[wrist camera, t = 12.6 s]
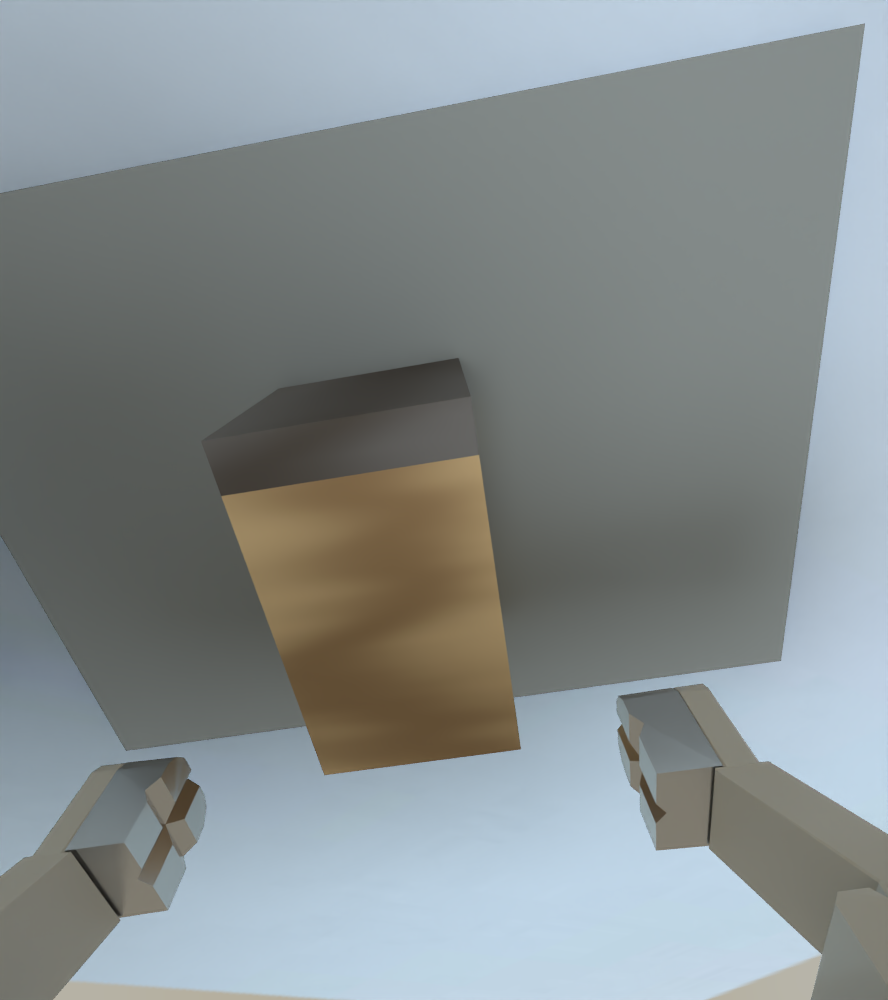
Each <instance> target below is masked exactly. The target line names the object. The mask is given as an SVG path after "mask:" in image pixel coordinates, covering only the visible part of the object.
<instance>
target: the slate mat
mask: <svg viewBox="0 0 888 1000" xmlns="http://www.w3.org/2000/svg"><path fill="white" fill-rule="evenodd" d="M864 27H865V24H860V25H855V26H850V27H845V28H840V29H835V30H830V31H825V32H820V33H814V34H809V35H804V36H799V37H794V38H789V39H784V40H779V41H774V42H769V43H764V44H758V45H753V46H748V47H743V48H738V49H733V50H728V51H723V52H718V53H713V54H707V55H702V56H697V57H692V58H687V59H682V60H677V61H672V62H667V63H662V64H657V65H651V66H646V67H641V68H636V69H631V70H626V71H621V72H616V73H611V74H606V75H600V76H595V77H590V78H585V79H580V80H575V81H570V82H565V83H560V84H555V85H550V86H544V87H539V88H534V89H529V90H524V91H519V92H514V93H509V94H504V95H499V96H493V97H488V98H483V99H478V100H473V101H468V102H463V103H458V104H453V105H448V106H443V107H437V108H432V109H427V110H422V111H417V112H412V113H407V114H402V115H397V116H392V117H386V118H381V119H376V120H371V121H366V122H361V123H356V124H351V125H346V126H341V127H336V128H330V129H325V130H320V131H315V132H310V133H305V134H300V135H295V136H290V137H285V138H279V139H274V140H269V141H264V142H259V143H254V144H249V145H244V146H239V147H234V148H229V149H223V150H218V151H213V152H208V153H203V154H198V155H193V156H188V157H183V158H178V159H173V160H167V161H162V162H157V163H152V164H147V165H142V166H137V167H132V168H127V169H122V170H116V171H111V172H106V173H101V174H96V175H91V176H86V177H81V178H76V179H71V180H66V181H60V182H55V183H50V184H45V185H40V186H35V187H30V188H25V189H20V190H15V191H9V192H4V193H0V535H1V537H2V539H3V540H4V542H5V544H6V546H7V547H8V549H9V551H10V552H11V554H12V556H13V558H14V559H15V561H16V563H17V564H18V566H19V568H20V570H21V571H22V573H23V575H24V576H25V578H26V580H27V582H28V583H29V585H30V587H31V588H32V590H33V592H34V594H35V595H36V597H37V599H38V600H39V602H40V604H41V606H42V607H43V609H44V611H45V612H46V614H47V616H48V618H49V619H50V621H51V623H52V624H53V626H54V628H55V630H56V631H57V633H58V635H59V637H60V638H61V640H62V642H63V643H64V645H65V647H66V649H67V650H68V652H69V654H70V655H71V657H72V659H73V661H74V662H75V664H76V666H77V667H78V669H79V671H80V673H81V674H82V676H83V678H84V679H85V681H86V683H87V685H88V686H89V688H90V690H91V691H92V693H93V695H94V697H95V698H96V700H97V702H98V703H99V705H100V707H101V709H102V710H103V712H104V714H105V715H106V717H107V719H108V721H109V722H110V724H111V726H112V727H113V729H114V731H115V733H116V734H117V736H118V738H119V740H120V741H121V743H122V745H123V746H124V748H125V750H126V751H128V750H135V749H142V748H149V747H157V746H164V745H171V744H179V743H186V742H193V741H200V740H208V739H215V738H222V737H229V736H237V735H244V734H251V733H259V732H266V731H273V730H280V729H288V728H295V727H302V726H306V724H305V721H304V718H303V716H302V713H301V710H300V708H299V705H298V702H297V699H296V697H295V694H294V691H293V689H292V686H291V683H290V681H289V678H288V675H287V672H286V670H285V667H284V664H283V662H282V659H281V656H280V654H279V651H278V648H277V645H276V643H275V640H274V637H273V635H272V632H271V629H270V627H269V624H268V621H267V618H266V616H265V613H264V610H263V608H262V605H261V602H260V600H259V597H258V594H257V591H256V589H255V586H254V583H253V581H252V578H251V575H250V573H249V570H248V567H247V564H246V562H245V559H244V556H243V554H242V551H241V548H240V545H239V543H238V540H237V537H236V535H235V532H234V529H233V527H232V524H231V521H230V518H229V516H228V513H227V510H226V508H225V505H224V502H223V500H222V497H221V494H220V491H219V489H218V486H217V483H216V481H215V478H214V475H213V473H212V470H211V467H210V464H209V462H208V459H207V456H206V454H205V451H204V448H203V446H202V443H201V441H202V440H203V439H205V438H206V437H208V436H209V435H211V434H212V433H214V432H215V431H217V430H218V429H220V428H221V427H223V426H224V425H226V424H227V423H228V422H230V421H231V420H233V419H234V418H236V417H237V416H239V415H240V414H242V413H243V412H245V411H246V410H248V409H249V408H251V407H252V406H254V405H255V404H256V403H258V402H259V401H261V400H262V399H264V398H265V397H267V396H268V395H270V394H271V393H273V392H274V391H276V390H277V389H279V388H284V387H290V386H296V385H302V384H308V383H314V382H320V381H325V380H331V379H337V378H343V377H349V376H355V375H361V374H367V373H372V372H378V371H384V370H390V369H396V368H402V367H408V366H414V365H420V364H425V363H431V362H437V361H443V360H449V359H455V358H459V361H460V364H461V367H462V370H463V373H464V377H465V380H466V383H467V386H468V389H469V392H470V395H471V401H472V408H473V415H474V422H475V429H476V436H477V443H478V451H479V458H480V465H481V472H482V479H483V486H484V493H485V500H486V507H487V514H488V521H489V528H490V535H491V542H492V549H493V556H494V563H495V571H496V578H497V585H498V592H499V599H500V606H501V613H502V620H503V627H504V634H505V641H506V648H507V655H508V662H509V669H510V676H511V684H512V691H513V697H521V696H528V695H535V694H542V693H550V692H557V691H564V690H571V689H579V688H586V687H593V686H601V685H608V684H615V683H622V682H630V681H637V680H644V679H652V678H659V677H666V676H673V675H681V674H688V673H695V672H702V671H710V670H717V669H724V668H732V667H739V666H746V665H753V664H761V663H768V662H775V661H781V655H782V648H783V640H784V633H785V625H786V617H787V610H788V602H789V595H790V587H791V580H792V572H793V564H794V557H795V549H796V542H797V534H798V527H799V519H800V511H801V504H802V496H803V489H804V481H805V474H806V466H807V458H808V451H809V443H810V436H811V428H812V421H813V413H814V405H815V398H816V390H817V383H818V375H819V368H820V360H821V352H822V345H823V337H824V330H825V322H826V315H827V307H828V299H829V292H830V284H831V277H832V269H833V262H834V254H835V246H836V239H837V231H838V224H839V216H840V209H841V201H842V193H843V186H844V178H845V171H846V163H847V156H848V148H849V140H850V133H851V125H852V118H853V110H854V103H855V95H856V87H857V80H858V72H859V65H860V57H861V49H862V42H863V34H864Z"/></svg>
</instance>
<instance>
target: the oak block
mask: <svg viewBox="0 0 888 1000" xmlns="http://www.w3.org/2000/svg"><path fill="white" fill-rule="evenodd" d="M201 443H202V446H203V448H204V451H205V454H206V456H207V459H208V462H209V464H210V467H211V470H212V473H213V475H214V478H215V481H216V483H217V486H218V489H219V491H220V494H221V497H222V500H223V502H224V505H225V508H226V510H227V513H228V516H229V518H230V521H231V524H232V527H233V529H234V532H235V535H236V537H237V540H238V543H239V545H240V548H241V551H242V554H243V556H244V559H245V562H246V564H247V567H248V570H249V573H250V575H251V578H252V581H253V583H254V586H255V589H256V591H257V594H258V597H259V600H260V602H261V605H262V608H263V610H264V613H265V616H266V618H267V621H268V624H269V627H270V629H271V632H272V635H273V637H274V640H275V643H276V645H277V648H278V651H279V654H280V656H281V659H282V662H283V664H284V667H285V670H286V672H287V675H288V678H289V681H290V683H291V686H292V689H293V691H294V694H295V697H296V699H297V702H298V705H299V708H300V710H301V713H302V716H303V718H304V721H305V724H306V727H307V729H308V732H309V735H310V737H311V740H312V743H313V745H314V748H315V751H316V754H317V756H318V759H319V762H320V764H321V767H322V770H323V772H324V775H329V774H336V773H344V772H352V771H359V770H367V769H374V768H382V767H390V766H397V765H405V764H412V763H420V762H428V761H435V760H443V759H451V758H458V757H466V756H473V755H481V754H489V753H496V752H504V751H511V750H519V749H521V747H520V740H519V733H518V726H517V719H516V712H515V705H514V698H513V691H512V684H511V676H510V669H509V662H508V655H507V648H506V641H505V634H504V627H503V620H502V613H501V606H500V599H499V592H498V585H497V578H496V571H495V563H494V556H493V549H492V542H491V535H490V528H489V521H488V514H487V507H486V500H485V493H484V486H483V479H482V472H481V465H480V458H479V451H478V443H477V436H476V429H475V422H474V415H473V408H472V401H471V395H470V392H469V389H468V386H467V383H466V380H465V377H464V373H463V370H462V367H461V364H460V361H459V358H455V359H449V360H443V361H437V362H431V363H425V364H420V365H414V366H408V367H402V368H396V369H390V370H384V371H378V372H372V373H367V374H361V375H355V376H349V377H343V378H337V379H331V380H325V381H320V382H314V383H308V384H302V385H296V386H290V387H284V388H279V389H277V390H276V391H274V392H273V393H271V394H270V395H268V396H267V397H265V398H264V399H262V400H261V401H259V402H258V403H256V404H255V405H254V406H252V407H251V408H249V409H248V410H246V411H245V412H243V413H242V414H240V415H239V416H237V417H236V418H234V419H233V420H231V421H230V422H228V423H227V424H226V425H224V426H223V427H221V428H220V429H218V430H217V431H215V432H214V433H212V434H211V435H209V436H208V437H206V438H205V439H203V440H202V441H201Z"/></svg>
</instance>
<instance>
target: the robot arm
mask: <svg viewBox="0 0 888 1000" xmlns="http://www.w3.org/2000/svg"><path fill="white" fill-rule="evenodd" d="M617 714H618V716H619V719H620V721H621V723H622V725H621V726H620V727H619V729H618V730H617V732H618V745H619V750H620V755H621V760H622V763H623V766H624V770H625V773H626V775H627V778H628V781H629V783H630V786H631V787H632V788H633V789H635V790H636V791H637V792H639V793H640V812H641V814H642V817H643V819H644V822H645V824H646V827H647V829H648V832H649V834H650V837H651V839H652V842H653V844H654V847H655V849H656V850H667V849H678V848H688V847H699V846H709V849H710V850H711V851H712V852H713V853H714V854H715V855H716V856H718V857H719V858H720V859H721V860H722V861H723V862H724V863H725V864H726V865H727V866H728V867H729V868H730V869H731V870H732V871H734V872H735V873H736V874H737V875H738V876H739V877H740V878H741V879H742V880H743V881H744V882H745V883H746V884H747V885H748V886H749V887H751V888H752V889H753V890H754V891H755V892H756V893H757V894H758V895H759V896H760V897H761V898H762V899H763V900H764V901H765V902H767V903H768V904H769V905H770V906H771V907H772V908H773V909H774V910H775V911H776V912H777V913H778V914H779V915H780V916H781V917H782V918H784V919H785V920H786V921H787V922H788V923H789V924H790V925H791V926H792V927H793V928H794V929H795V930H796V931H797V932H798V933H800V934H801V935H802V936H803V937H804V938H805V939H806V940H807V941H808V942H809V943H810V944H811V945H812V946H813V947H814V948H815V949H817V950H818V951H819V952H820V953H821V954H822V957H821V961H820V965H819V969H818V974H817V977H816V981H815V985H814V990H813V994H812V998H811V1000H888V834H887V833H885V832H883V831H882V830H880V829H878V828H877V827H875V826H874V825H872V824H870V823H869V822H867V821H865V820H864V819H862V818H860V817H859V816H857V815H856V814H854V813H852V812H851V811H849V810H847V809H846V808H844V807H843V806H841V805H839V804H838V803H836V802H834V801H833V800H831V799H829V798H828V797H826V796H825V795H823V794H821V793H820V792H818V791H816V790H815V789H813V788H811V787H810V786H808V785H807V784H805V783H803V782H802V781H800V780H798V779H797V778H795V777H793V776H792V775H790V774H789V773H787V772H785V771H784V770H782V769H780V768H779V767H777V766H775V765H774V764H772V763H771V762H769V761H768V762H759V761H758V760H757V758H756V757H755V755H754V754H753V752H752V751H751V749H750V748H749V747H748V745H747V744H746V742H745V741H744V739H743V738H742V736H741V735H740V733H739V732H738V731H737V729H736V728H735V726H734V725H733V723H732V722H731V720H730V719H729V717H728V716H727V715H726V713H725V712H724V710H723V709H722V707H721V706H720V704H719V703H718V702H717V700H716V699H715V697H714V696H713V694H712V693H711V691H710V690H709V688H708V687H706V686H705V685H703V684H697V685H690V686H683V687H676V688H673V689H672V688H668V689H661V690H655V691H648V692H641V693H635V694H628V695H621V696H618V698H617ZM190 772H191V768H190V767H189V765H188V763H187V762H186V760H185V758H182V757H174V758H165V759H156V760H147V761H138V762H129V763H123V764H114V765H106V766H101V767H99V768H98V769H97V770H95V771H94V772H92V773H91V774H90V776H89V777H88V779H87V780H86V782H85V783H84V784H83V786H82V787H81V789H80V790H79V791H78V793H77V794H76V796H75V797H74V799H73V800H72V801H71V803H70V804H69V806H68V807H67V808H66V810H65V811H64V813H63V814H62V816H61V817H60V818H59V820H58V821H57V823H56V824H55V825H54V827H53V828H52V830H51V831H50V833H49V834H48V835H47V837H46V838H45V840H44V841H43V842H42V844H41V845H40V847H39V848H38V850H37V851H36V852H35V854H34V855H33V856H31V857H25V858H23V859H22V860H21V861H19V862H18V863H17V864H16V865H14V866H13V867H12V868H11V869H9V870H8V871H7V872H6V873H4V874H3V875H2V876H0V1000H53V999H54V998H55V997H56V996H57V994H58V993H59V992H60V991H61V989H63V987H64V986H65V985H66V984H67V983H68V981H69V980H70V979H71V978H72V977H73V976H74V974H75V973H76V972H77V971H78V970H79V969H80V967H81V966H82V965H83V964H84V963H85V962H86V960H87V959H88V958H89V957H90V956H91V955H92V953H93V952H94V951H95V950H96V949H97V948H98V946H99V945H100V944H101V943H102V942H103V941H104V939H105V938H106V937H107V936H108V935H109V934H110V932H111V931H112V930H113V929H114V928H115V926H116V925H117V924H118V923H119V922H120V919H119V918H121V917H127V916H134V915H140V914H147V913H153V912H159V911H166V910H168V909H169V907H170V905H171V902H172V900H173V898H174V895H175V893H176V891H177V888H178V886H179V884H180V881H181V879H182V877H183V874H184V872H185V870H186V865H185V861H184V855H185V854H186V853H187V852H188V851H189V850H190V849H191V848H192V847H193V846H194V845H195V844H196V843H197V841H198V839H199V836H200V834H201V831H202V829H203V826H204V821H205V814H206V802H205V796H204V793H203V791H202V789H201V787H200V786H199V785H197V784H196V783H194V782H192V781H191V780H189V779H188V777H189V774H190Z"/></svg>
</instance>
